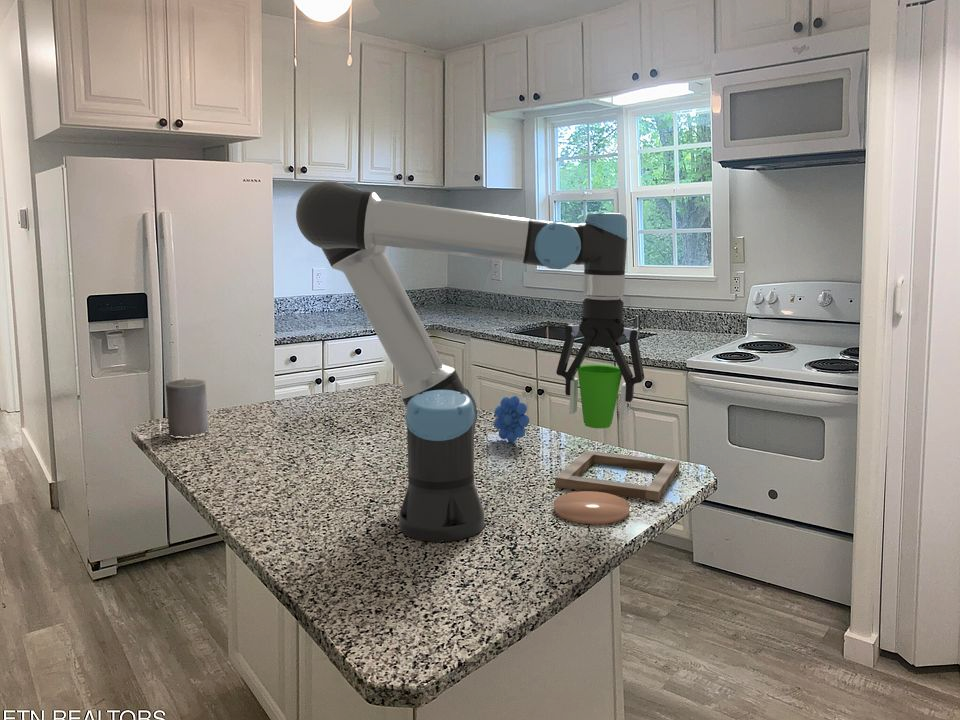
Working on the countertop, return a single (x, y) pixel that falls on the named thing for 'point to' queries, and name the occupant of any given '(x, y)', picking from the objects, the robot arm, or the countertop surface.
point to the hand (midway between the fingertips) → (597, 415)
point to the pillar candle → (187, 407)
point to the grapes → (511, 419)
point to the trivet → (591, 507)
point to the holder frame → (652, 492)
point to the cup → (598, 393)
